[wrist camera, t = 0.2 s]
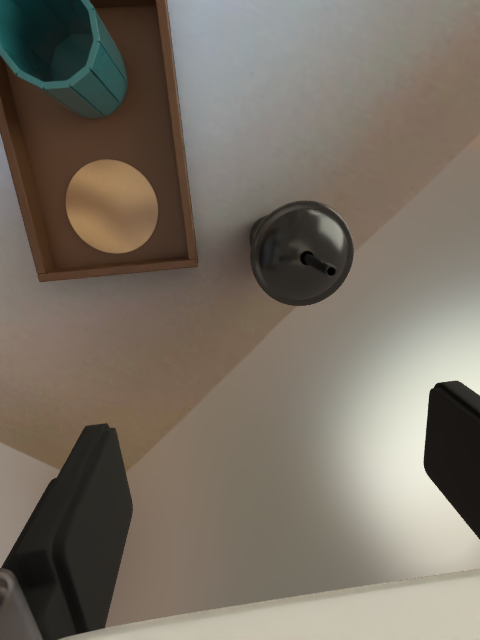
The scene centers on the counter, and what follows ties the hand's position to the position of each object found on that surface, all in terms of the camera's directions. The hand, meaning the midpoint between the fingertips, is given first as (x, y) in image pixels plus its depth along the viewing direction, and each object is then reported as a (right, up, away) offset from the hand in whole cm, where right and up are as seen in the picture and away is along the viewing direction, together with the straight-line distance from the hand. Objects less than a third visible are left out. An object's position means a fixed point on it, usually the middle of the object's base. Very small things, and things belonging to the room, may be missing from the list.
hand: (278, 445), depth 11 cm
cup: (-15, +26, +22) cm, 37 cm away
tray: (-14, +20, +25) cm, 35 cm away
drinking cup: (+2, +13, +29) cm, 32 cm away
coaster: (-14, +15, +26) cm, 33 cm away
